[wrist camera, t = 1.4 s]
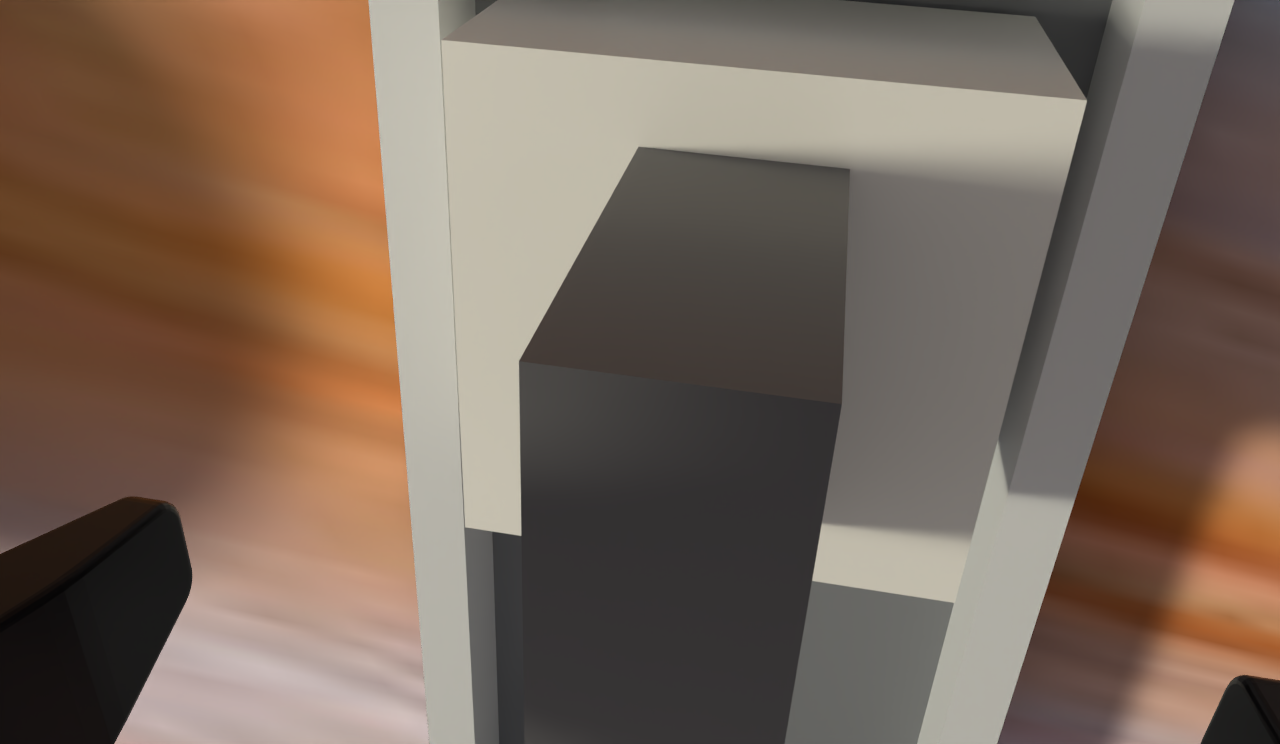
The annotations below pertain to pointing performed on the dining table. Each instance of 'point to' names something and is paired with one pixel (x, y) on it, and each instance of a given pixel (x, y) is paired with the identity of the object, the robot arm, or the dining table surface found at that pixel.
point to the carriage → (735, 325)
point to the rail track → (1026, 448)
